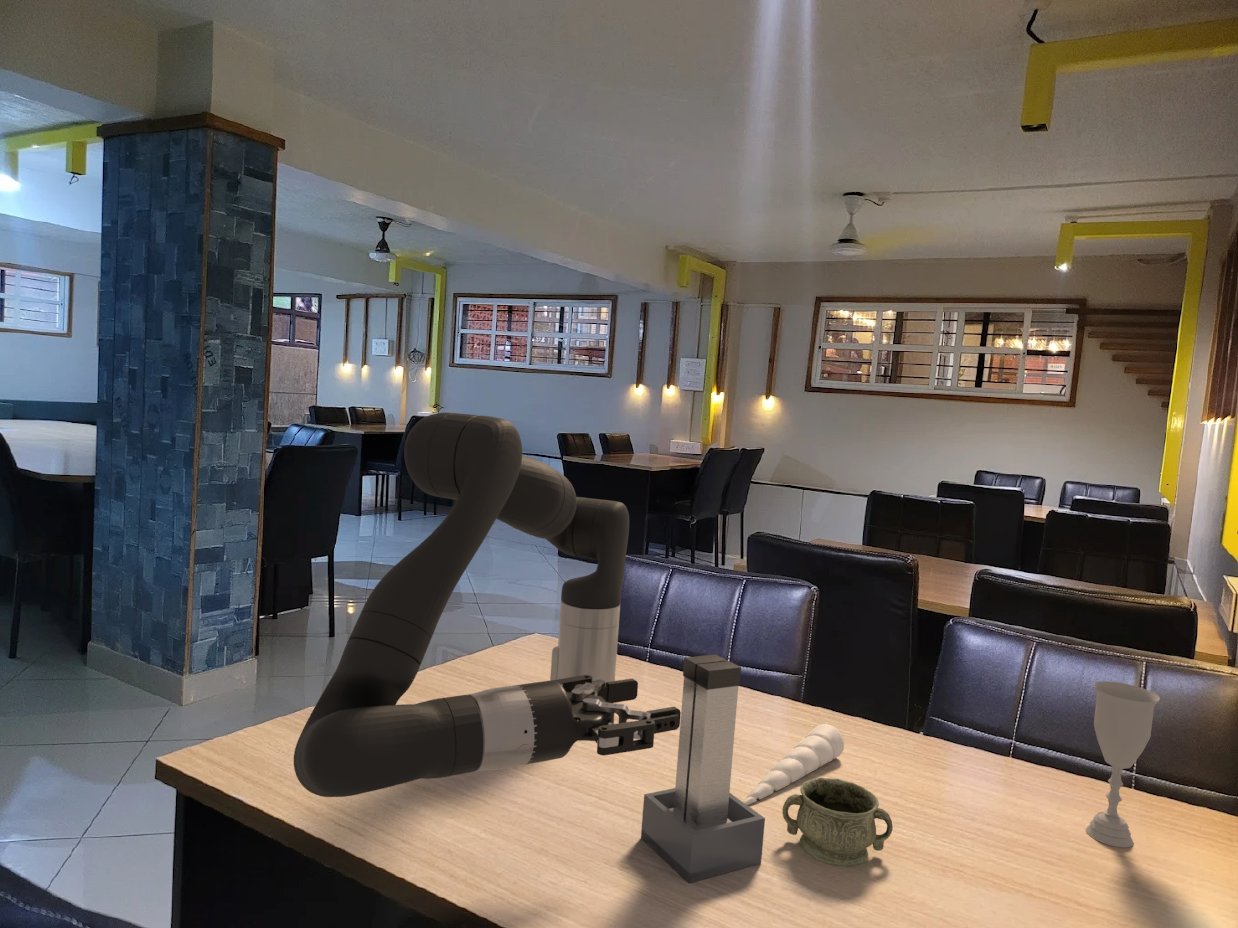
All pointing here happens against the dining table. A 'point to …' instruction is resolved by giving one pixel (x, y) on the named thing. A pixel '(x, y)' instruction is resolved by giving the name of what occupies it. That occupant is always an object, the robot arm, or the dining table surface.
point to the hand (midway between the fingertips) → (656, 702)
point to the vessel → (837, 821)
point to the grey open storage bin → (702, 838)
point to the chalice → (1120, 749)
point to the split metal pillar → (706, 741)
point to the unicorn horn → (800, 761)
